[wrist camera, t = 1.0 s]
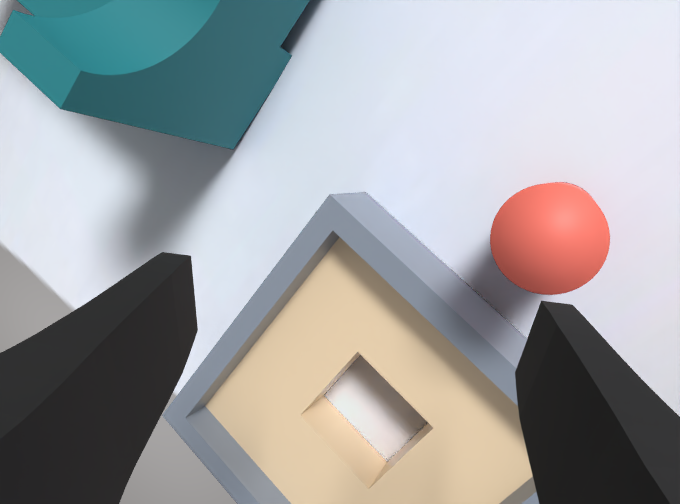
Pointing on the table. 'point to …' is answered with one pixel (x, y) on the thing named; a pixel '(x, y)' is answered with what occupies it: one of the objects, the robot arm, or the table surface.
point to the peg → (550, 238)
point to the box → (338, 355)
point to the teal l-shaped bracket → (156, 60)
